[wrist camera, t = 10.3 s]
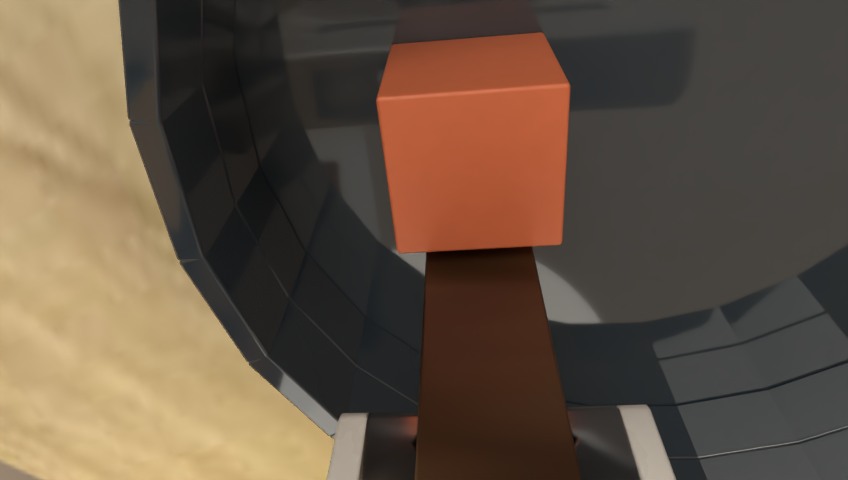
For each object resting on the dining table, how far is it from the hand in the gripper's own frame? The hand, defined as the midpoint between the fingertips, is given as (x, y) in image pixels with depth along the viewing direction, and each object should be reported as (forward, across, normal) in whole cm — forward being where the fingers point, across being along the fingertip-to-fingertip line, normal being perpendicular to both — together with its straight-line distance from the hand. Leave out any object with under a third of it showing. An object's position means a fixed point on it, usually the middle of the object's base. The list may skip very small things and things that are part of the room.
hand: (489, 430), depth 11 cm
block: (+7, 0, -3) cm, 8 cm away
